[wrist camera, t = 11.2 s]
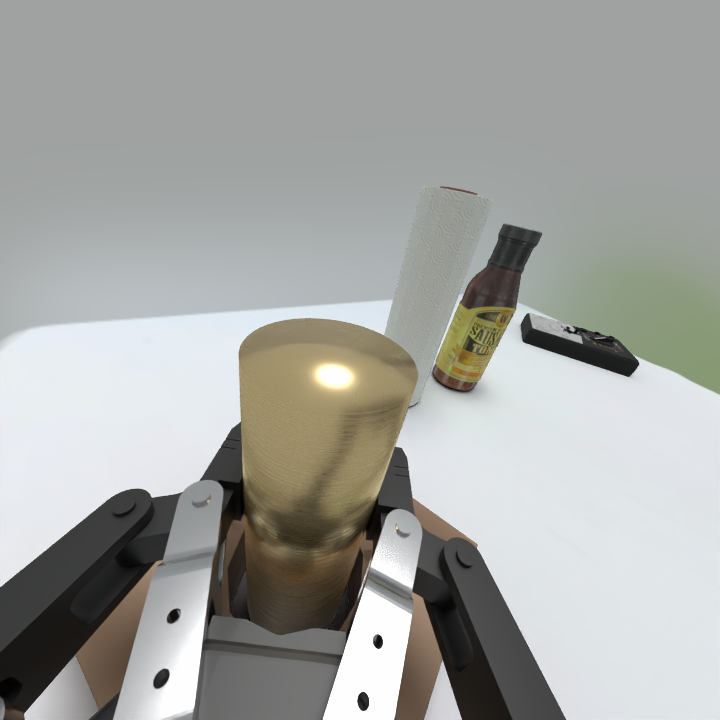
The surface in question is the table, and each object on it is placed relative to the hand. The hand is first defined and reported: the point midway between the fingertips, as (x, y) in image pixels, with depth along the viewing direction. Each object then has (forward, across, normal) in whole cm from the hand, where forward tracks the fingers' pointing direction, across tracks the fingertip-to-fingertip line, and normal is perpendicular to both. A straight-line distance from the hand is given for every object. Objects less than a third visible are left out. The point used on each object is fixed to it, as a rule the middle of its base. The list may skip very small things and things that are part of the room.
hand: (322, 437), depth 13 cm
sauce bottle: (+24, -16, +10) cm, 30 cm away
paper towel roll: (+19, -8, +10) cm, 22 cm away
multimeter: (+46, -47, +10) cm, 67 cm away
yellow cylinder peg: (-3, 0, +8) cm, 8 cm away
